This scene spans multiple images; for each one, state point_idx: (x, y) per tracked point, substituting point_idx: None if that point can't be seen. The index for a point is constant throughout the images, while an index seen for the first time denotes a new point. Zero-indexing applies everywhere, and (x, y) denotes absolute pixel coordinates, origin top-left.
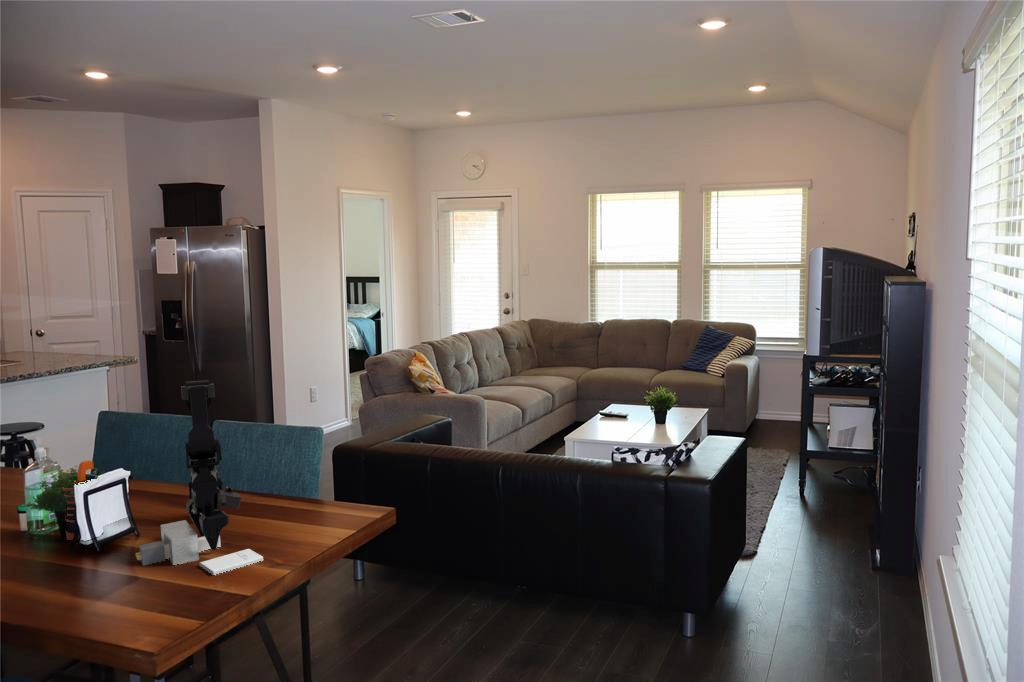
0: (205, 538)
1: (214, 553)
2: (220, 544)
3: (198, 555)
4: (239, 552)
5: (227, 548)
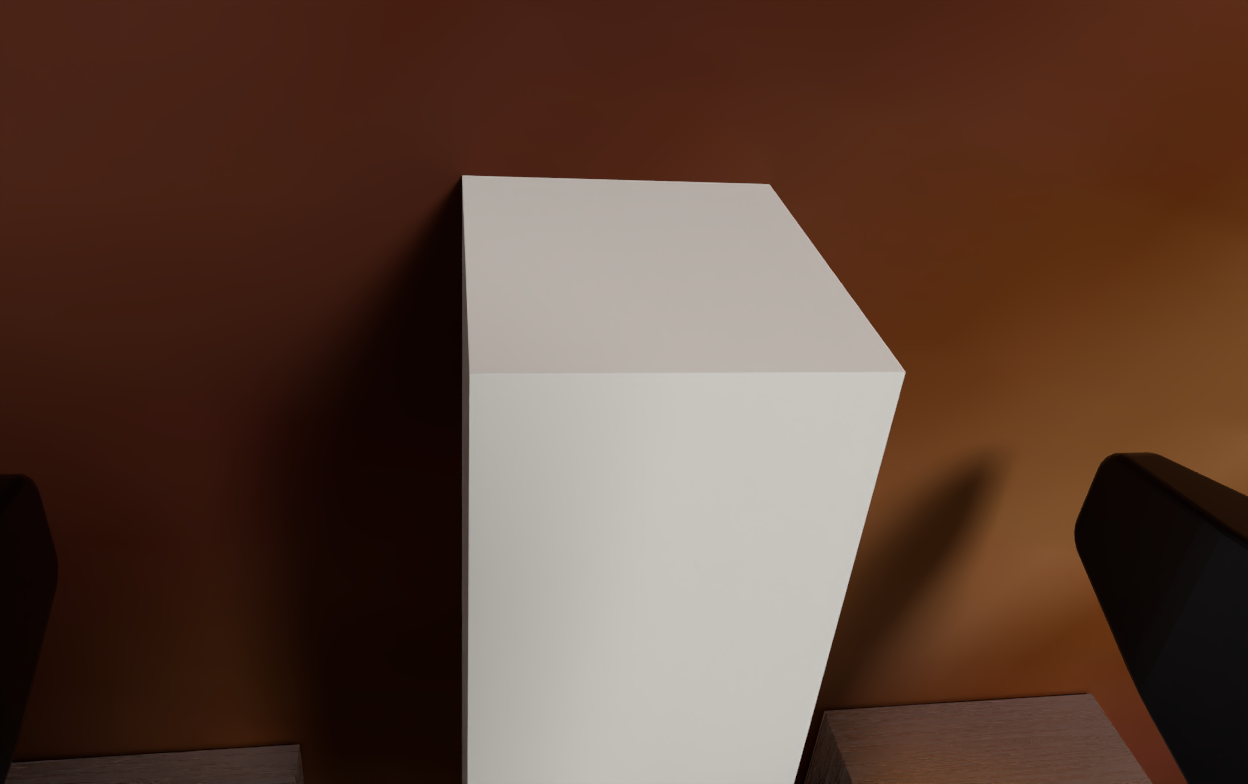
0: (710, 764)
1: (1035, 417)
2: (802, 230)
3: (1143, 777)
4: None
5: (1003, 45)
